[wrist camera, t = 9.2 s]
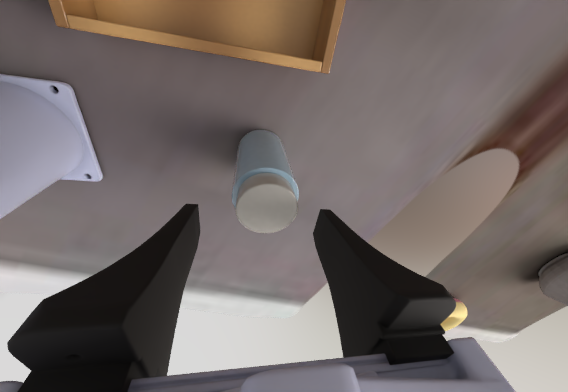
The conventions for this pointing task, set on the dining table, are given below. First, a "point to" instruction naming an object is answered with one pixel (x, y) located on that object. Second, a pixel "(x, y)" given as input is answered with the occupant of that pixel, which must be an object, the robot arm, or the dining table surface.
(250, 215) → the shaker
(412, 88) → the dining table surface
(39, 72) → the dining table surface
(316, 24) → the wooden tray
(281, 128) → the dining table surface
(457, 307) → the donut
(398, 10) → the dining table surface
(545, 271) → the coffee pot
